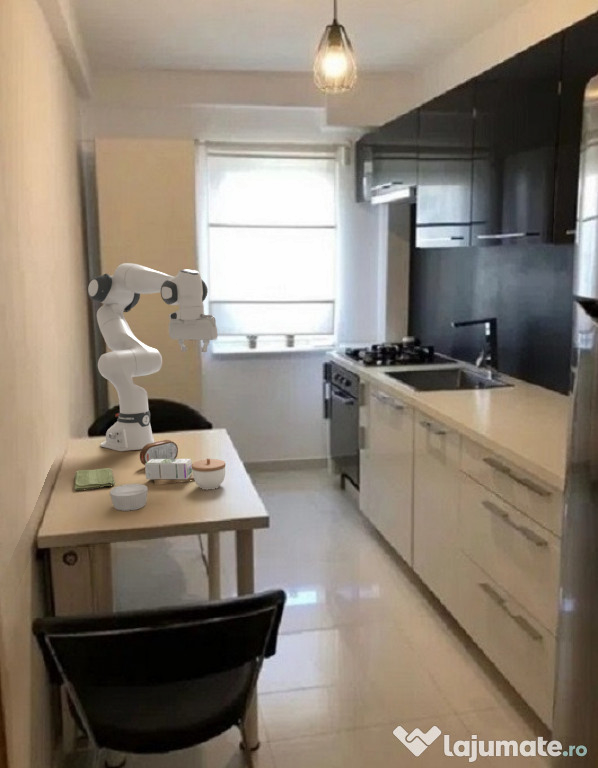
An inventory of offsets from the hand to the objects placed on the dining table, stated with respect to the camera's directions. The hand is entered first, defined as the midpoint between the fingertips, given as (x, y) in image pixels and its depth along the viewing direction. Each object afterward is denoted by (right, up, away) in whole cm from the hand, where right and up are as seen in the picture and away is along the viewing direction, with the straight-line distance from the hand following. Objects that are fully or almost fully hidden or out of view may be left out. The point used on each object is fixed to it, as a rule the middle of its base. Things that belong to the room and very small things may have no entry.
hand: (194, 351), depth 265 cm
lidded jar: (+10, -45, -34) cm, 57 cm away
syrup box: (-12, -40, -25) cm, 49 cm away
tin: (-11, -41, -5) cm, 43 cm away
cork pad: (-4, -43, -21) cm, 48 cm away
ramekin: (-12, -49, -49) cm, 71 cm away
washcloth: (-30, -46, -24) cm, 59 cm away
